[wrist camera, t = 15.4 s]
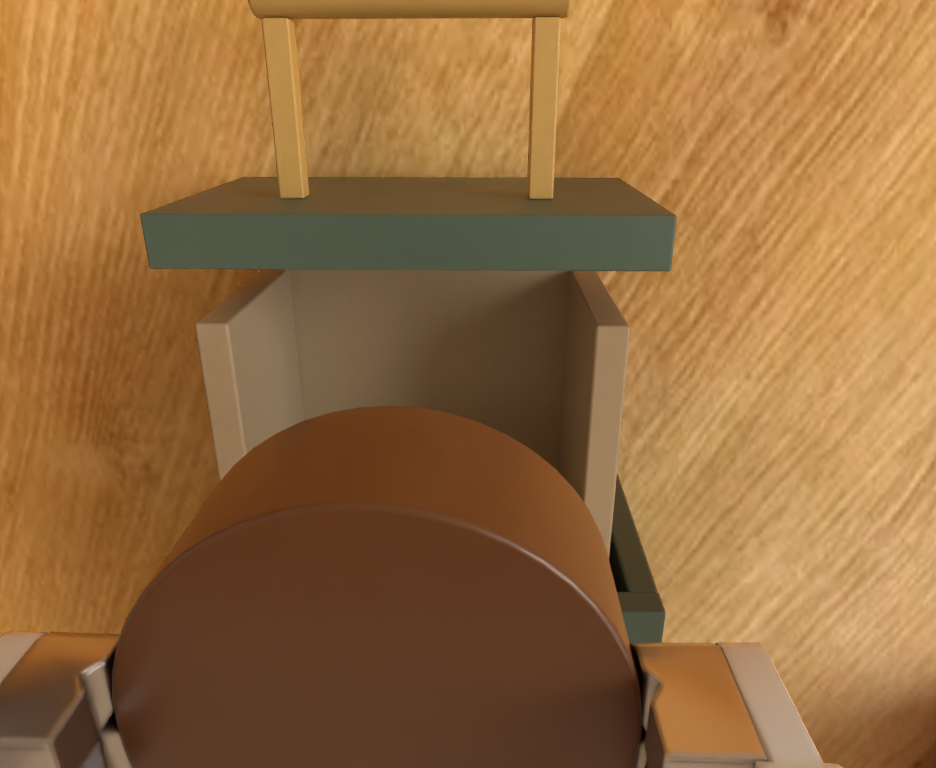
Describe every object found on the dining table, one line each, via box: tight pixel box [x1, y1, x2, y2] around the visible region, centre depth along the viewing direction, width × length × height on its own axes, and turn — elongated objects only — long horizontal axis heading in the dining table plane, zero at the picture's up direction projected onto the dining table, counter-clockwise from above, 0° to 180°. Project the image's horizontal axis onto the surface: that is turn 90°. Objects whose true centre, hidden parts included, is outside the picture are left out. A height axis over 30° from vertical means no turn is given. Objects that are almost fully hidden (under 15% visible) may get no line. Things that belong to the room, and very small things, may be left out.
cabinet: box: [609, 474, 665, 644], centre depth 24 cm, size 15×13×9 cm
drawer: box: [140, 0, 677, 558], centre depth 19 cm, size 19×11×7 cm, turn 0°
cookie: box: [112, 406, 642, 768], centre depth 9 cm, size 6×6×2 cm
